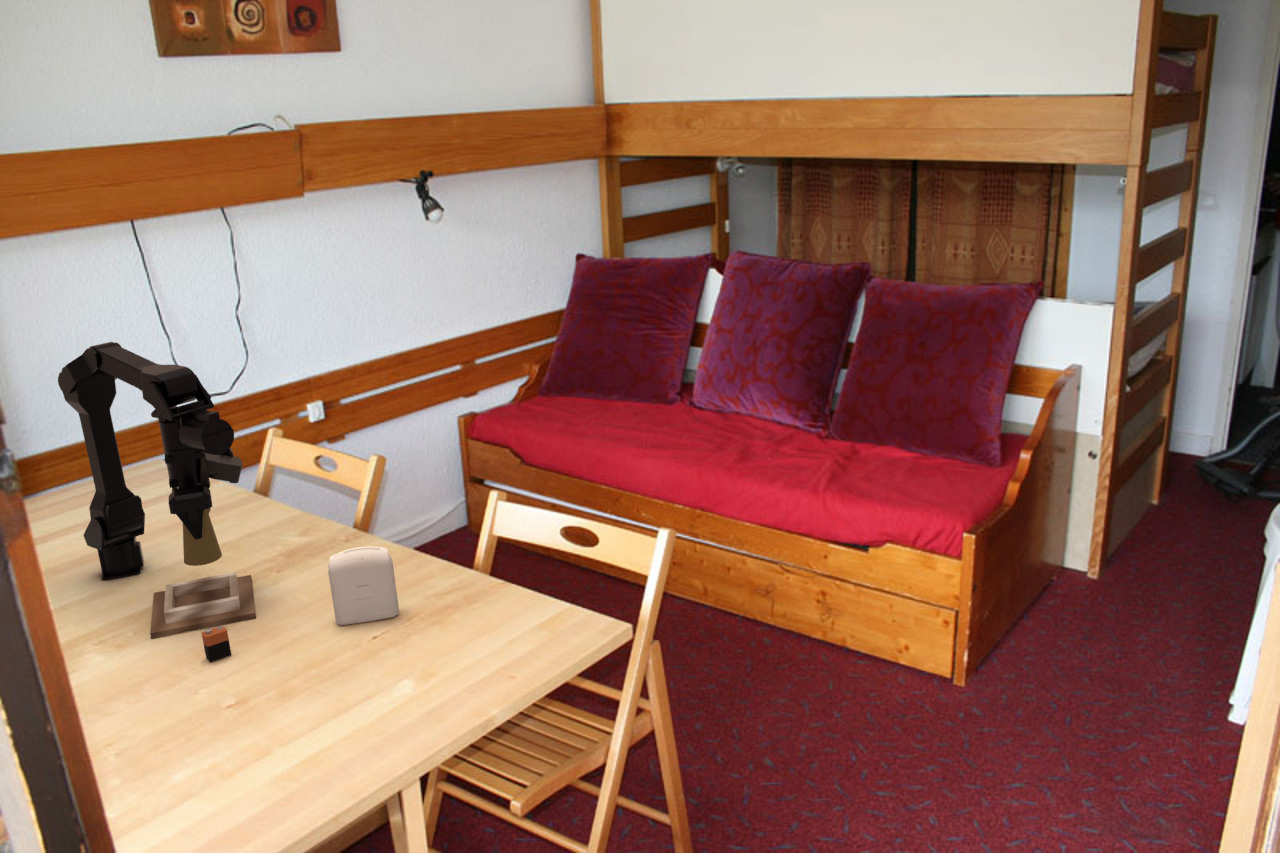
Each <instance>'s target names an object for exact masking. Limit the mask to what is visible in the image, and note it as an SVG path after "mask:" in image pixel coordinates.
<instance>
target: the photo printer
mask: <svg viewBox="0 0 1280 853" xmlns="http://www.w3.org/2000/svg"><path fill="white" fill-rule="evenodd" d="M327 567H328V580H329V585H330V592H331V598H332V605H333V610H334V619H335V623H336V624H337V623H338V624H339V625H338V624H337V625H338V626H344V625H352V624H359V623H365V622H373V621H377V620H384V619H390V618H395V617H397V616H398V615H399V613H400V606H399V599H398V597H399V596H398V591H397V584H396V577H395V569H394V560H393V558H392V555H391V554H390V552H389V548H387V547H382V546H381V547H380V546H358V547H352V548H349V549H345V550H342V551H339V552H336V553H334V554H332V555H331V556H329V562H328V566H327ZM397 614H398V615H397ZM396 615H397V616H396Z"/></svg>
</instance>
